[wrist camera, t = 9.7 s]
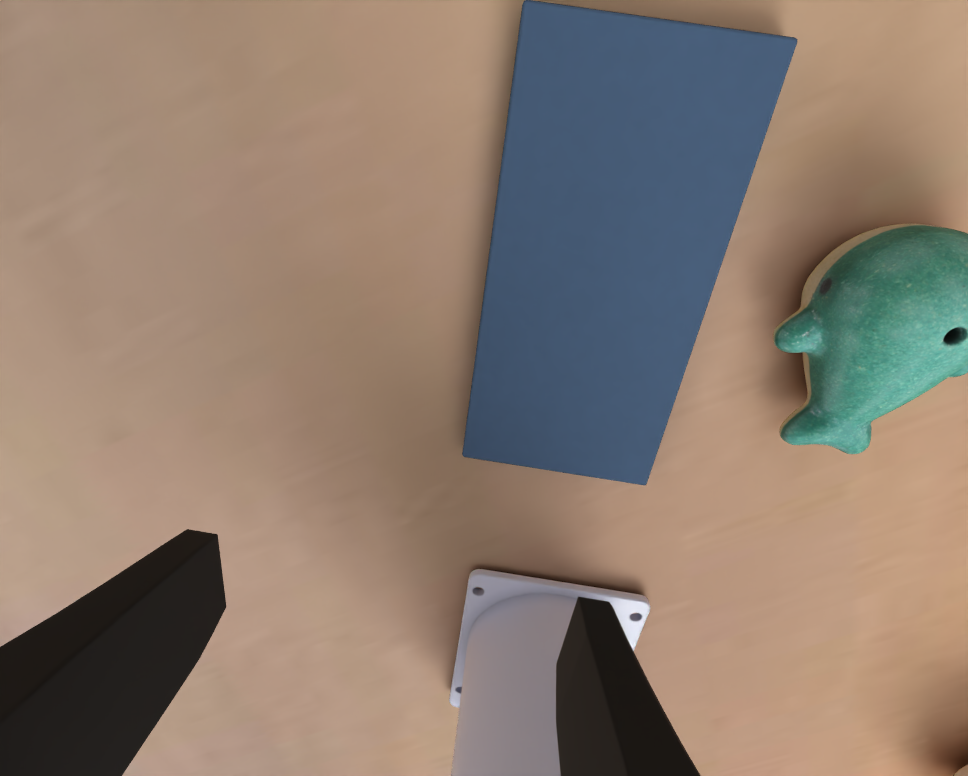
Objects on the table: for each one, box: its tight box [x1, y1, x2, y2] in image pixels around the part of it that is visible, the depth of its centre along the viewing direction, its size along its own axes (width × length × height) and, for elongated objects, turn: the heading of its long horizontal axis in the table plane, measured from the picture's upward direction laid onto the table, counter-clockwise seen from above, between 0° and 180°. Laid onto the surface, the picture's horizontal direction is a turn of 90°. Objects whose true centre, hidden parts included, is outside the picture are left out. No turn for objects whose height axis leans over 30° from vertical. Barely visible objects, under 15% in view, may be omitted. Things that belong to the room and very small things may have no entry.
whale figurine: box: [773, 223, 968, 454], centre depth 15 cm, size 6×7×4 cm
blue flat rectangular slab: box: [462, 0, 797, 485], centre depth 16 cm, size 14×7×1 cm, turn 172°
